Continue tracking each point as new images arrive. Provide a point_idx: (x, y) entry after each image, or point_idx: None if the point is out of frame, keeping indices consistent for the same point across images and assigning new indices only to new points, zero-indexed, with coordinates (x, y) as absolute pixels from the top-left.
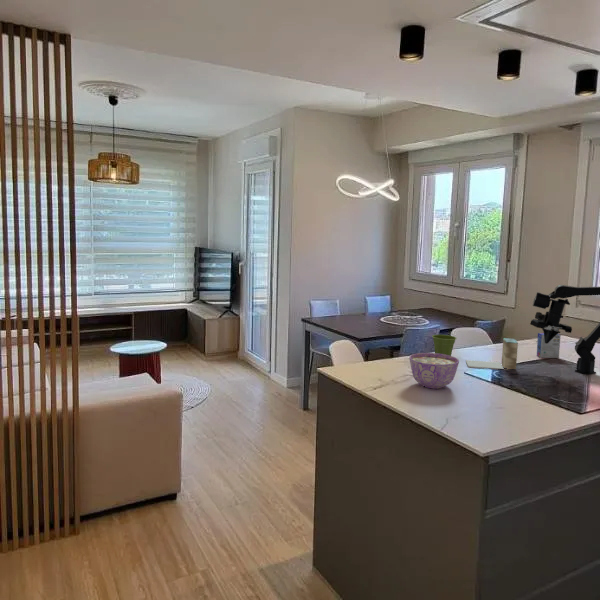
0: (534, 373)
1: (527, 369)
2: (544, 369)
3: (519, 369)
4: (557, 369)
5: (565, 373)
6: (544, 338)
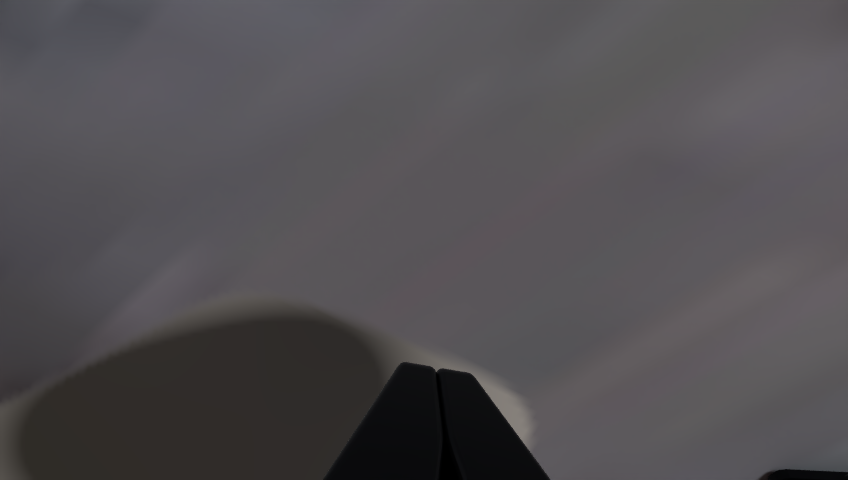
0: (107, 301)
1: (158, 104)
2: (426, 212)
3: (33, 53)
4: (630, 295)
5: None
6: (333, 469)
